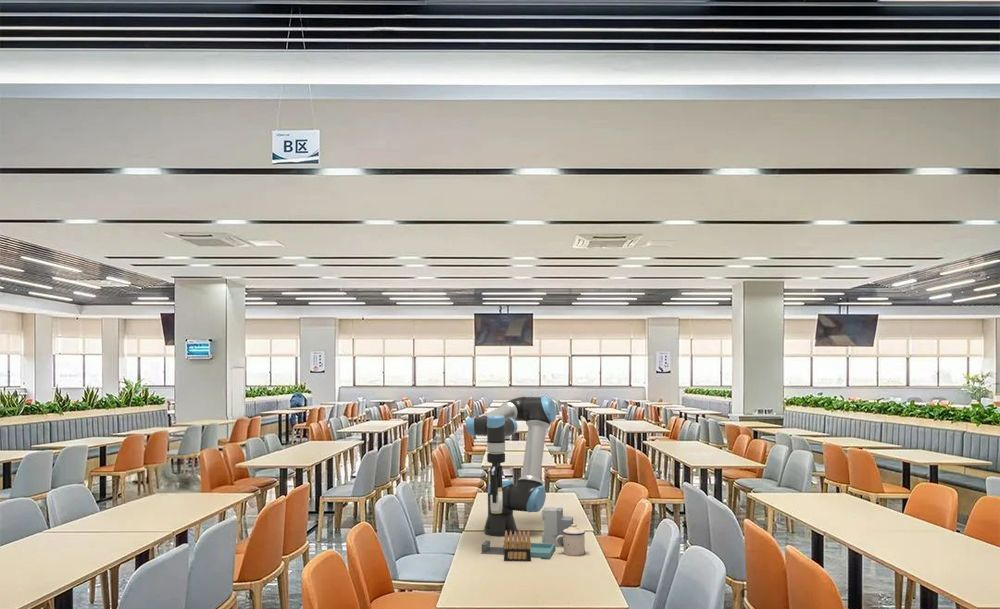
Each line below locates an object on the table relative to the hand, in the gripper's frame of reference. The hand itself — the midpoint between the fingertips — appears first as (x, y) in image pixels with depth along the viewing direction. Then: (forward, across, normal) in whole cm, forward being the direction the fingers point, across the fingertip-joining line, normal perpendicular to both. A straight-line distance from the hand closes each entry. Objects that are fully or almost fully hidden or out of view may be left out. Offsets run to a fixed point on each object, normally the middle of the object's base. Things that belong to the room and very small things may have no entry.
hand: (496, 509), depth 312 cm
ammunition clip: (+17, +14, +11) cm, 25 cm away
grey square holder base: (+17, 0, 0) cm, 17 cm away
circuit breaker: (+18, -17, +24) cm, 34 cm away
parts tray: (+17, 0, +15) cm, 23 cm away
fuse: (+1, 0, 0) cm, 1 cm away
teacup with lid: (+18, -3, +30) cm, 35 cm away
